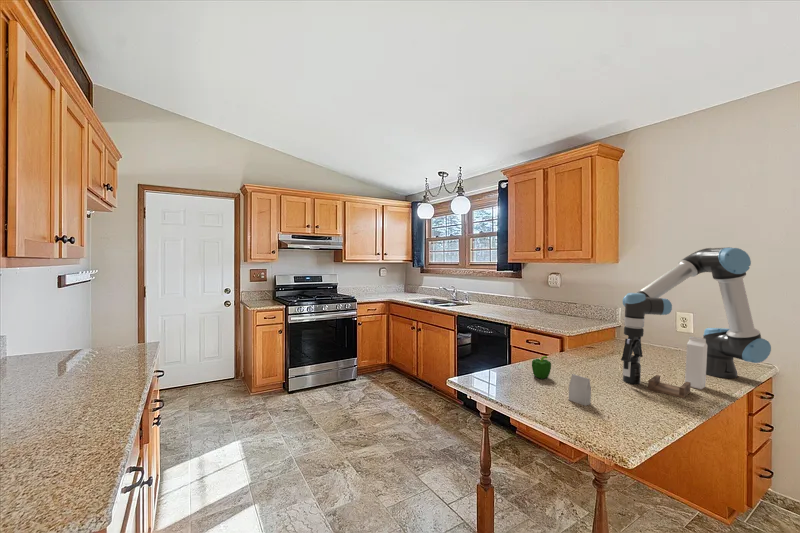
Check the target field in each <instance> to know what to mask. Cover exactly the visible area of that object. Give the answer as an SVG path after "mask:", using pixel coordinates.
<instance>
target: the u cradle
mask: <svg viewBox="0 0 800 533" xmlns="http://www.w3.org/2000/svg"><path fill="white" fill-rule="evenodd" d="M690 385H691V383H690V382H685V381H684V383H683V384H682V385H681V386H677V385H672V384H669V383H666V382H665V383H664V382H661V375H658V374H656V375H654V376H653V377H651V378H649V379H648V382H647V390H649V391H653V392H657V393H661V394H665V395H668V396H673V397H676V398H681V399H684V398H685V397H687V396H688V394H690V393H691V387H690Z"/></svg>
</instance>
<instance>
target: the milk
mask: <svg viewBox="0 0 800 533" xmlns="http://www.w3.org/2000/svg"><path fill="white" fill-rule="evenodd" d="M685 356H686V357H685V376H684V383H685V382H690V383H691V385H690V388H694V389H698V390H703V389H704V388H706V382H707V381H706V380H707V379H706V378H707V374H706V364H707V344H706V339H704V338H702V337H696V336H689V338H688V341H687V342H686V354H685Z"/></svg>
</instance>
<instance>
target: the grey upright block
mask: <svg viewBox="0 0 800 533" xmlns="http://www.w3.org/2000/svg"><path fill="white" fill-rule="evenodd" d="M591 398H592V385H591V381H590V378H588V377H586V376H585V377H584V376H581V375H577V374H574V373H572V374H571V377H570V380H569V384H568V401H571V402H574V403H575V404H578V405H582V406H584V407H587V406H588V405H591V401H592V399H591Z"/></svg>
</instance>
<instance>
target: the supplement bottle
mask: <svg viewBox="0 0 800 533" xmlns="http://www.w3.org/2000/svg"><path fill="white" fill-rule="evenodd" d="M630 362H631V367H630V377H628V376H624V375H623V374H622V381H623V382H624V383H626V384H629V383H630V384H631V385H640V384H641V378H642V377H641V372H642V366H641V362H640V363H638V356H634V354H632V356H631V359H630ZM630 384H629V385H630Z"/></svg>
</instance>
